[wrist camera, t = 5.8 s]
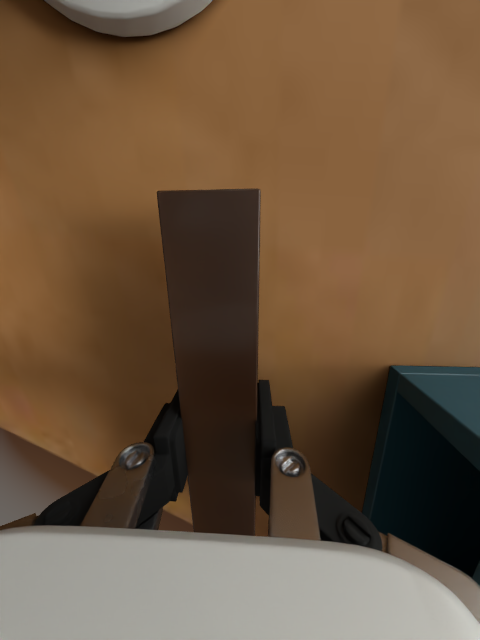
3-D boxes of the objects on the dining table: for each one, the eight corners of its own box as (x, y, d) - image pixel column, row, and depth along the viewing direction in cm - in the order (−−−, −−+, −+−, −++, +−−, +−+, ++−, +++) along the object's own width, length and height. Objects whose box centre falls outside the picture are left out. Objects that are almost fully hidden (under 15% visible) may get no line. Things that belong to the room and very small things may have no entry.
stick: (208, 520, 15) (199, 583, 12) (184, 206, 9) (155, 190, 7) (253, 523, 15) (254, 587, 12) (258, 205, 9) (260, 188, 6)
